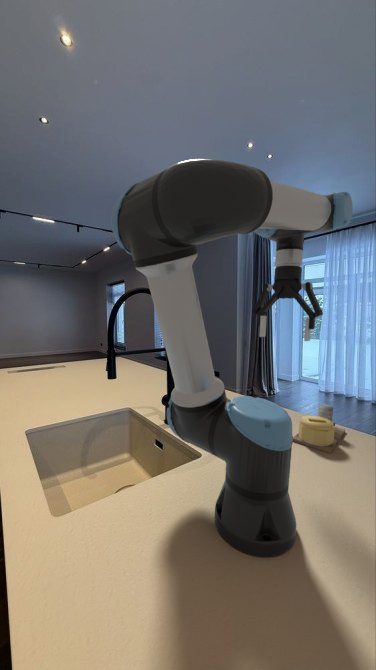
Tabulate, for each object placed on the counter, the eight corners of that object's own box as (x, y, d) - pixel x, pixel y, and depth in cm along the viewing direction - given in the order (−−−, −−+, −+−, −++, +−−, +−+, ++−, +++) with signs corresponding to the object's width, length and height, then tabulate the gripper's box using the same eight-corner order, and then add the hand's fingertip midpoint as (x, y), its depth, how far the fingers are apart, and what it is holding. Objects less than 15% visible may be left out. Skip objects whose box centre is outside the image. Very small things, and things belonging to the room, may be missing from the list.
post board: (330, 453, 82) (332, 423, 81) (292, 441, 89) (294, 413, 88) (345, 432, 97) (347, 406, 97) (311, 423, 104) (313, 399, 104)
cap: (303, 443, 85) (304, 423, 85) (296, 430, 95) (298, 412, 94) (336, 446, 84) (338, 426, 83) (326, 433, 93) (328, 415, 92)
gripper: (338, 265, 77) (332, 341, 79) (255, 270, 93) (251, 334, 95) (331, 260, 72) (324, 343, 73) (244, 267, 88) (240, 335, 89)
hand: (283, 338), depth 84 cm, fingers open, 13 cm apart
